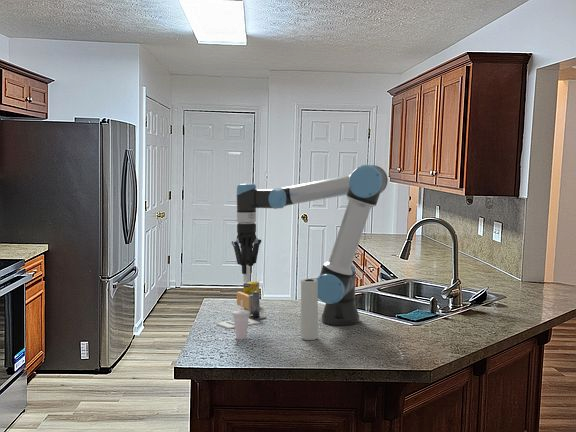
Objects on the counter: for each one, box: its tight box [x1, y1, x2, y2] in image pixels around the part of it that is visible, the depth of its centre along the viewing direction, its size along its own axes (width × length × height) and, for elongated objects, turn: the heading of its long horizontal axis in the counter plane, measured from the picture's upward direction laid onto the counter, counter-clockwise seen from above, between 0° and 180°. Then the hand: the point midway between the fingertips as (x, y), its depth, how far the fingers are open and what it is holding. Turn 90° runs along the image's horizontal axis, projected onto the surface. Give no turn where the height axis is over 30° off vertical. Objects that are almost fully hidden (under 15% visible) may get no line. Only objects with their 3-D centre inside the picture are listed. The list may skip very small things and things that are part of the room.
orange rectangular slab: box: [236, 291, 253, 316], centre depth 279 cm, size 16×2×8 cm, turn 28°
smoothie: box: [231, 300, 251, 340], centre depth 238 cm, size 6×6×14 cm
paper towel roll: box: [300, 278, 319, 341], centre depth 238 cm, size 7×6×21 cm
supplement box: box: [242, 280, 260, 295], centre depth 293 cm, size 6×6×11 cm
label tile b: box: [216, 320, 235, 330], centre depth 258 cm, size 9×6×1 cm, turn 37°
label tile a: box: [248, 319, 261, 327], centre depth 263 cm, size 9×6×1 cm, turn 37°
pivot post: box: [249, 290, 267, 321], centre depth 270 cm, size 6×6×11 cm
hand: (246, 281), depth 262 cm, fingers closed
